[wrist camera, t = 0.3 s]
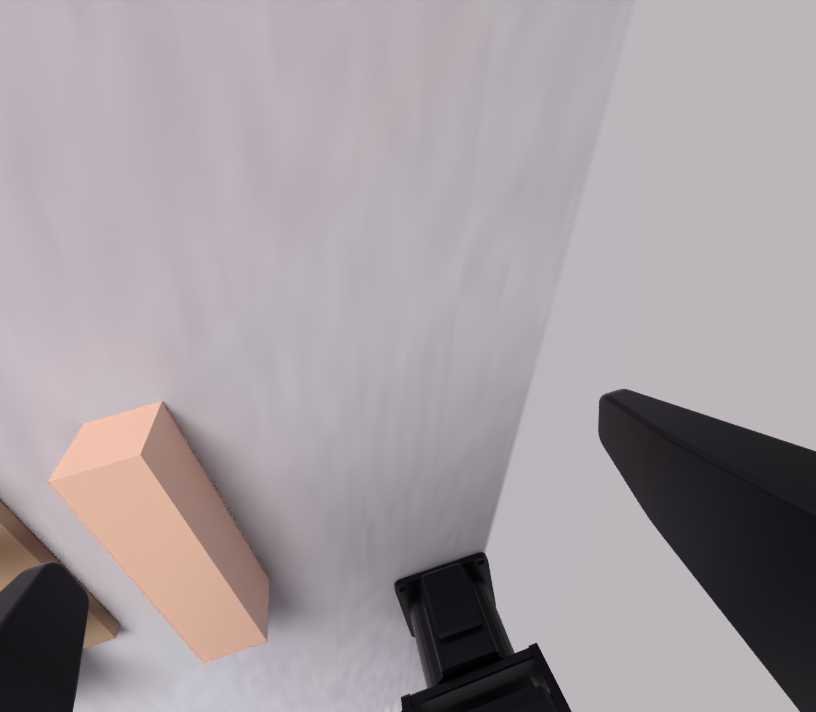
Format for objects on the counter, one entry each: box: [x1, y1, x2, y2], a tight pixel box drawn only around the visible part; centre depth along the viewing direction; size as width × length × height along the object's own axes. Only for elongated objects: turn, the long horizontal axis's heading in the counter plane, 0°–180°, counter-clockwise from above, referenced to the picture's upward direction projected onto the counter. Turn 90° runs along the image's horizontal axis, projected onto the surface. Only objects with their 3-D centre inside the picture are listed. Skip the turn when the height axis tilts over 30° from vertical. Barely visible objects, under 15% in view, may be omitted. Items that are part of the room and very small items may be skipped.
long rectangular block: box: [48, 401, 269, 663], centre depth 23 cm, size 14×4×4 cm, turn 12°
